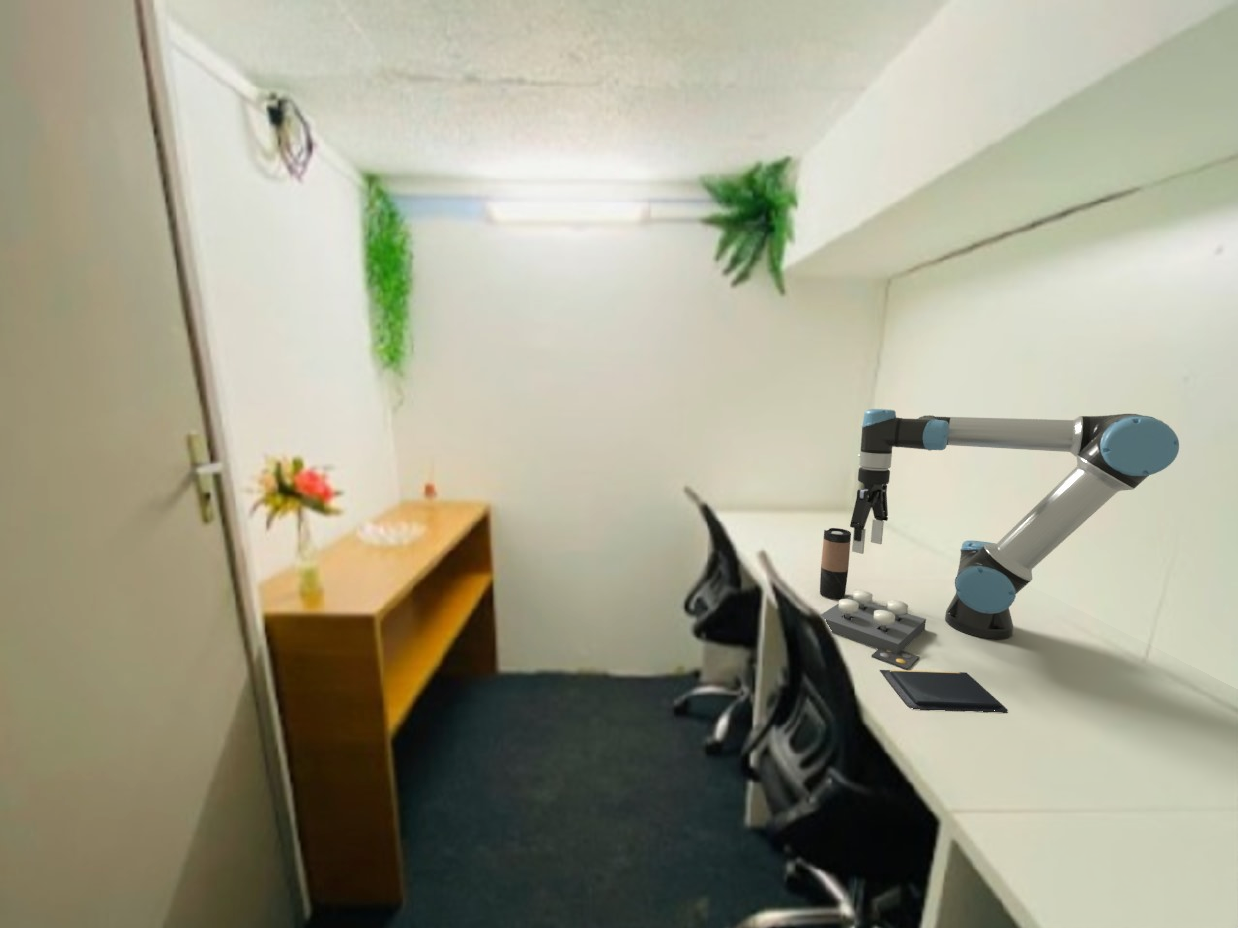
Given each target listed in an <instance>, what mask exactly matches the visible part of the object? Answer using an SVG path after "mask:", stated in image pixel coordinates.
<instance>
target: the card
mask: <svg viewBox="0 0 1238 928" xmlns="http://www.w3.org/2000/svg"><path fill="white" fill-rule="evenodd" d="M871 658H873V659H877V660H879V661H882V662H884V663H887V664H890V665H893V666H895V667H897V668H901V669H903V670H910V668H912V666H913V665H914V664H915V663H916V662H917V661H918V660H919V659H920V655H917V654H914V653H911V652H909V651H905V650H901V651H900V652H899V653H898V654H895V653H892V652H891V651H888V650H887V651H886V650H884V649H881V648H879V649H876V651H875V652H873V653H872V654H871Z"/></svg>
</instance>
